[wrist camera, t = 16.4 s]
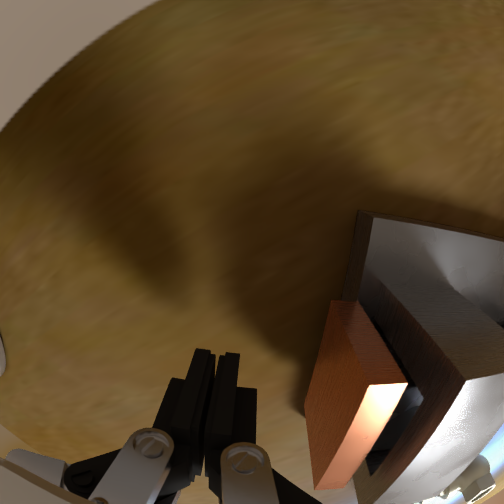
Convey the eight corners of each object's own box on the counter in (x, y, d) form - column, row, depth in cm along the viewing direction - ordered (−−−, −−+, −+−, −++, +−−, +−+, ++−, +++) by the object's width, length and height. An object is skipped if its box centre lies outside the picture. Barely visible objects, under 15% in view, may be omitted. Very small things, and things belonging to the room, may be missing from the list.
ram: (303, 404, 13) (314, 490, 8) (331, 299, 11) (369, 385, 6) (491, 385, 13) (526, 431, 8) (527, 306, 11) (577, 345, 6)
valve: (486, 428, 17) (384, 468, 18) (511, 469, 11) (400, 524, 12) (465, 461, 19) (372, 495, 20) (483, 499, 13) (383, 542, 14)
